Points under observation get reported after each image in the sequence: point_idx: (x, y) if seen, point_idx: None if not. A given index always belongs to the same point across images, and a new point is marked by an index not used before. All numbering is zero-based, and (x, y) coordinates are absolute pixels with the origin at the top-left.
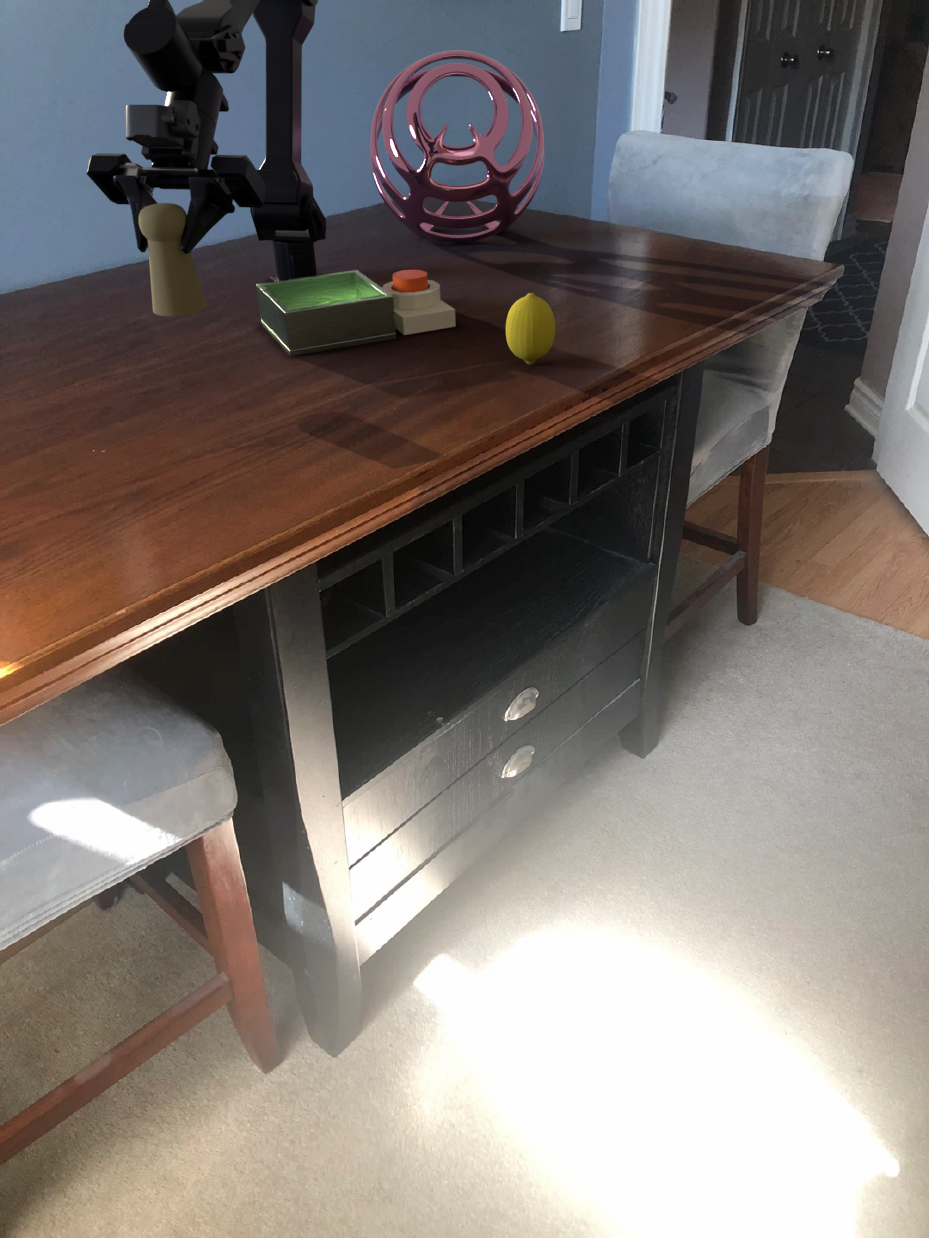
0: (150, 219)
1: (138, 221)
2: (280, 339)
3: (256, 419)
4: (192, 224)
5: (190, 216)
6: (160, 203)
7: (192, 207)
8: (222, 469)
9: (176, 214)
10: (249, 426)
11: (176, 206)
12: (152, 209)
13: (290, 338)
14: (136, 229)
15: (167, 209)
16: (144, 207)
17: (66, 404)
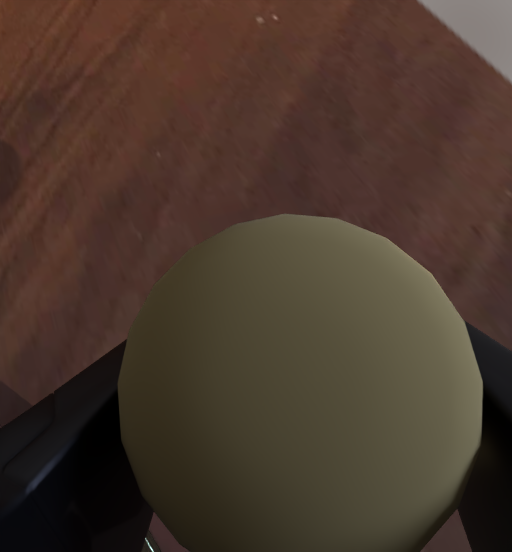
0: (290, 214)
1: (495, 373)
2: (146, 544)
3: (85, 165)
4: (89, 371)
5: (79, 399)
6: (311, 436)
7: (33, 450)
8: (80, 23)
9: (136, 321)
10: (87, 140)
11: (151, 417)
12: (299, 265)
13: None
14: (480, 341)
15: (180, 298)
16: (441, 359)
17: (438, 142)
